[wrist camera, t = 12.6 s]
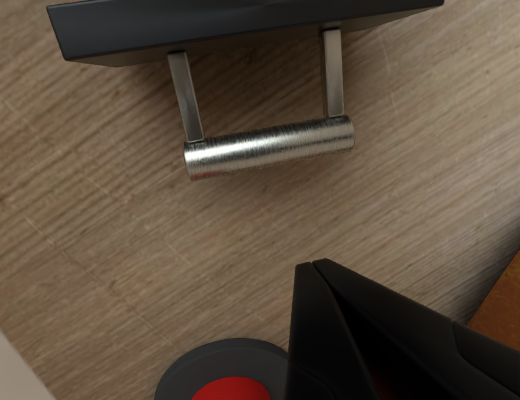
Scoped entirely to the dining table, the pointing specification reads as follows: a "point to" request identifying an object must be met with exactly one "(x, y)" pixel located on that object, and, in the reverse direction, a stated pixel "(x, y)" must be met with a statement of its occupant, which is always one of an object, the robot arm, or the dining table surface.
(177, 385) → the disc
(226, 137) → the drawer
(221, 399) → the ketchup bottle
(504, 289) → the bread
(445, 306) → the dining table surface
